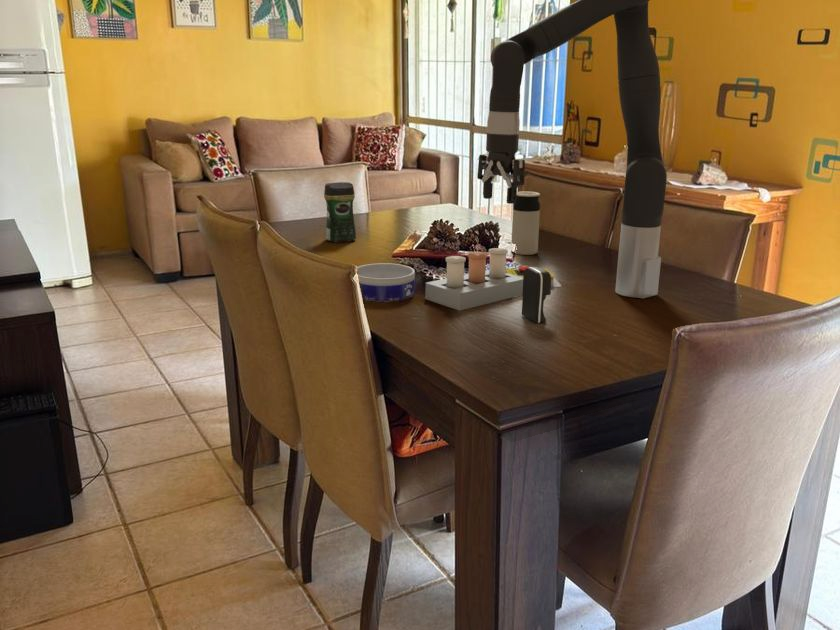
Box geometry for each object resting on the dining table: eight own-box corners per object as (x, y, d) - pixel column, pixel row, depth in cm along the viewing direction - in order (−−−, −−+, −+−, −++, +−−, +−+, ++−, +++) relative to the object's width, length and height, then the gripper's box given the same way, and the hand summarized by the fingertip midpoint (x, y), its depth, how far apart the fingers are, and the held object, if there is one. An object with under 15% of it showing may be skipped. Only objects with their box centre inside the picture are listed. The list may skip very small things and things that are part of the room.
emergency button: (498, 264, 200) (555, 263, 201) (498, 280, 201) (554, 279, 202) (504, 272, 191) (563, 272, 192) (503, 289, 192) (562, 289, 193)
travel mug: (525, 256, 225) (528, 195, 220) (505, 252, 231) (508, 192, 226) (542, 253, 230) (546, 193, 225) (523, 248, 236) (525, 190, 231)
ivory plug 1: (468, 287, 178) (469, 258, 176) (454, 291, 176) (455, 261, 174) (455, 283, 182) (456, 255, 180) (441, 286, 179) (441, 257, 177)
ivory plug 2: (510, 278, 187) (511, 250, 185) (497, 281, 184) (498, 253, 182) (497, 274, 190) (498, 247, 188) (483, 277, 188) (484, 249, 185)
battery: (551, 322, 165) (554, 271, 162) (535, 324, 164) (538, 273, 160) (535, 313, 171) (538, 264, 168) (520, 315, 170) (523, 265, 166)
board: (525, 294, 186) (526, 278, 185) (459, 310, 173) (459, 293, 172) (491, 284, 195) (491, 269, 194) (425, 298, 182) (425, 282, 181)
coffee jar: (352, 237, 251) (351, 180, 245) (358, 241, 243) (357, 183, 238) (323, 238, 248) (321, 181, 242) (328, 243, 240) (326, 184, 235)
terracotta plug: (490, 283, 183) (491, 254, 181) (476, 286, 180) (477, 257, 178) (476, 279, 186) (477, 251, 184) (463, 282, 183) (463, 253, 181)
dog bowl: (401, 306, 177) (401, 280, 175) (341, 299, 182) (340, 274, 180) (423, 289, 190) (423, 266, 189) (367, 283, 195) (367, 260, 194)
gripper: (535, 133, 174) (530, 204, 179) (495, 129, 185) (491, 195, 190) (511, 134, 170) (506, 206, 175) (471, 129, 181) (468, 197, 186)
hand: (499, 200), depth 183 cm, fingers open, 8 cm apart
